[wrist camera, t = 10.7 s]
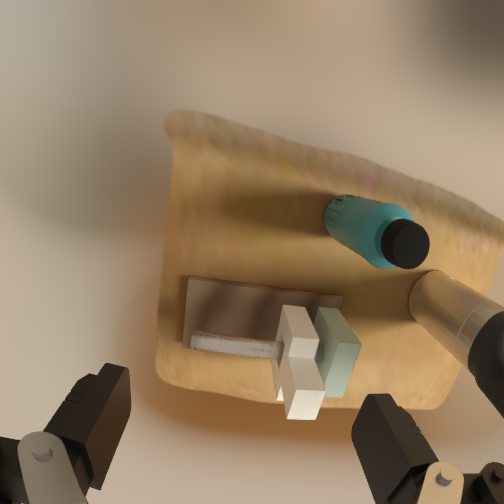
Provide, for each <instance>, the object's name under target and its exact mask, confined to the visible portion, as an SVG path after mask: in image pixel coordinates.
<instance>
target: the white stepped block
mask: <svg viewBox="0 0 504 504" xmlns="http://www.w3.org/2000/svg"><path fill="white" fill-rule="evenodd" d="M319 340H320V339H319V337H318V335H317V333H316V331H315V328H314V326H313V324H312V322H311V319H310V317H309V315H308V313H307V311H306V308H305V307H300V306H292V305H283V307H282V312H281V317H280V321H279V326H278V331H277V335H276V340H275V341H282V342H284V344H285V348H284V352H283V356H282V360H272V359H271V365H272V372H273V379H274V385H275V392H276V399H277V400H280V401H284V405H285V410H286V416H287V419H304V420H305V419H306V420H315V419H316V417H317V414H318V411H319V409H320V406H321V403H322V401H323V398H324V395H325V392H326V389H325V387H324V384H323V381H322V379H321V376H320V373H319V370H318V368H317V365H316V362H315V360H314V357H315V354H316V350H317V347H318V343H319Z"/></svg>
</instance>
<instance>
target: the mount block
mask: <svg viewBox="0 0 504 504" xmlns="http://www.w3.org/2000/svg"><path fill="white" fill-rule="evenodd" d="M314 328H315V331H316V333H317V335H318V337H319V339H320V340H319V343H318V345H324V347H325V357H324V361H323V362H322V363H316V365H317V368H318V370H319V373H320V376H321V379H322V381H323V384H324V387H325V389H326V392H325V395H324V397H343V395H344V392H345V390H346V387H347V384H348V382H349V379H350V376H351V374H352V371H353V368H354V366H355V363H356V360H357V357H358V354H359V351H360V348H361V345H362V344H361V342H360V341H359V339H358V338H357V336H356V335H355V333H354V332H353V330H352V329H351V327H350V326H349V324H348V323H347V321H346V320H345V318H344V317H343V316H342V314H341V313H340V311H339V310H338V309H336V308H327V307H318V310H317V314H316V318H315V322H314Z"/></svg>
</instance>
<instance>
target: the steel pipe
mask: <svg viewBox="0 0 504 504" xmlns="http://www.w3.org/2000/svg"><path fill="white" fill-rule="evenodd" d="M284 348H285V344H284V342H282V341H272V340H263V339H255V338H247V337H239V336H231V335H224V334H217V333H210V332H204V331H197V330H193V332H192V338H191V349H195V350H201V351H208V352H215V353H222V354H229V355H237V356H245V357H253V358H263V359H272V360H282V356H283V352H284ZM324 357H325V347H324V345H318V347H317V350H316V354H315V357H314V360H315V362H316V363H322V362H323V361H324Z"/></svg>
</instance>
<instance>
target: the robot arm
mask: <svg viewBox="0 0 504 504" xmlns="http://www.w3.org/2000/svg"><path fill="white" fill-rule="evenodd" d="M408 306H409V311H410V314H411V315H412V317H413V318H414V319H415V320H416V321H417V322H418V323H419V324H420V325H422V326H423V327H424V328H425V329H426V330H427V331H428V332H429V333H430V334H431V335H432V336H433V337H434V338H435V339H436V340H437V341H439V342H440V343H441V344H442V345H443V346H444V347H445V348H446V349H447V350H448V351H449V352H450V353H451V354H452V355H453V356H454V357H455V358H456V359H457V360H458V361H459V362H461V363H462V364H463V365H464V366H465V367H466V368H467V369H468V370H469V371H470V372H471V373H472V374H473V375H474V377H475V380H476V382H477V385H478V387H479V388H480V389H481V391H482V392H483V393H484V394H485V395H486V397H487V398H488V399H489V400H490V402H491V403H492V404H493V405H494V407H495V408H496V409H497V410H498V412H499V413H500V414H501V416H502V417H503V418H504V307H502V306H501V305H499V304H497V303H496V302H494V301H492V300H491V299H489V298H487V297H486V296H484V295H482V294H480V293H479V292H477V291H475V290H474V289H472V288H470V287H469V286H467V285H465V284H463V283H462V282H460V281H458V280H456V279H455V278H453V277H451V276H449V275H447V274H446V273H444V272H442V271H437V270H436V271H431V272H428V273H426V274H424V275H423V276H422V277H421V278H420V279H418V281H417V282H416V283H415V285H414V286H413V288H412V290H411V293H410V296H409V304H408ZM130 411H131V392H130V376H129V369H128V368H126V367H122V366H118V365H113V364H110V363H106V364H104V366H103V367H102V369H101V370H100V372H99V373H98V375H94V374H90V373H89V374H88V375H86V376H85V377H83V378H81V379H80V380H78V381H77V382H76V384H75V385H74V387H73V388H72V389H71V392H70V393H69V394H68V395H67V397H66V398H65V401H63V402H62V404H61V405H60V407H59V408H58V410H57V411H56V413H55V414H54V416H53V417H52V419H51V420H50V422H49V423H48V425H47V426H46V428H45V429H44V430H43V432H33V433H30V434H28V435H26V436H25V437H23V438H22V439H21V440H15V439H10V438H4V437H0V504H21V503H23V504H88V502H87V499H86V497H85V496H86V494H87V491H88V489H89V487H91V488H95V489H97V490H101V487H102V485H103V482H104V480H105V477H106V474H107V472H108V469H109V466H110V464H111V461H112V459H113V456H114V454H115V451H116V449H117V446H118V444H119V441H120V439H121V436H122V434H123V431H124V429H125V427H126V424H127V422H128V419H129V416H130ZM351 436H352V442H353V444H354V447H355V449H356V452H357V455H358V457H359V460H360V463H361V465H362V468H363V471H364V473H365V476H366V479H367V481H368V484H369V487H370V489H371V492H372V495H373V498H374V500H375V503H376V504H504V465H503V464H501V463H497V462H492V463H488V464H487V465H486V466H485V467H484V468H483V469H482V470H481V472H480V473H479V474H462V472H461V471H460V470H459V468H458V467H456V466H455V465H453V464H451V463H449V462H443V461H442V462H439V460H438V459H437V457H436V455H435V454H434V452H433V450H432V449H431V447H430V445H429V444H428V442H427V440H426V439H425V438H424V436H423V434H421V431H420V429H419V428H418V426H416V423H415V421H414V420H413V418H412V416H411V415H410V414H409V413H408V412H406V411H405V410H404V409H403V408H402V407H401V406H397V404H396V403H395V401H394V400H393V398H392V396H391V395H390V394H387V393H386V394H368V395H367V396H366V398H365V400H364V402H363V404H362V406H361V409H360V411H359V413H358V415H357V417H356V419H355V422H354V424H353V426H352V432H351Z"/></svg>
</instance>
